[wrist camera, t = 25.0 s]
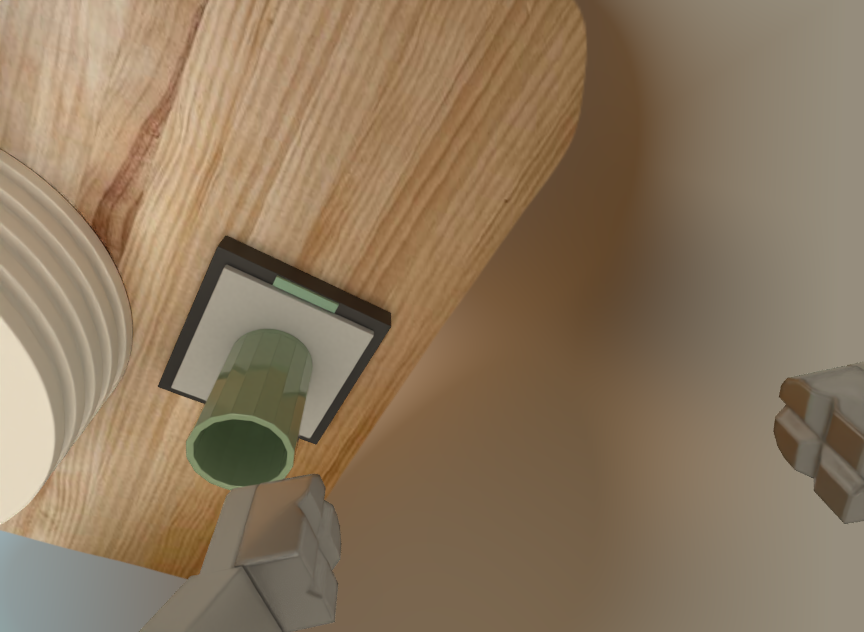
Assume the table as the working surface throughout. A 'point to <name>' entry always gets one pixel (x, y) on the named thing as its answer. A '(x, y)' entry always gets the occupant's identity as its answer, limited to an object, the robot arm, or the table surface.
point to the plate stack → (51, 331)
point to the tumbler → (253, 412)
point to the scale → (281, 310)
